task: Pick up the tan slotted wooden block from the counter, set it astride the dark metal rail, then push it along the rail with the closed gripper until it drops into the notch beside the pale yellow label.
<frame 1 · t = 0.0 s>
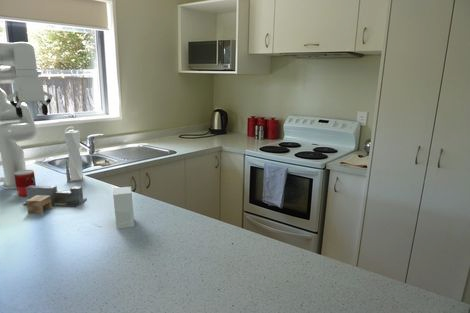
hand: (33, 116, 145), 37 cm above the counter, tool pointing down, fingers open, 9 cm apart
small box: (125, 224, 128), on the counter
tan slotted wooden block: (40, 210, 141), on the counter
canned food: (27, 194, 161), on the counter
skyscraper: (76, 179, 184), on the counter
notched rail: (56, 202, 150), on the counter
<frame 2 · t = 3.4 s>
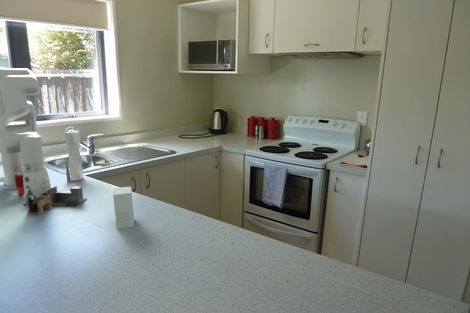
hand: (39, 208, 141), 1 cm above the counter, tool pointing down, fingers closed on tan slotted wooden block, 6 cm apart
tan slotted wooden block: (40, 210, 141), on the counter, touching gripper
everything else where it was.
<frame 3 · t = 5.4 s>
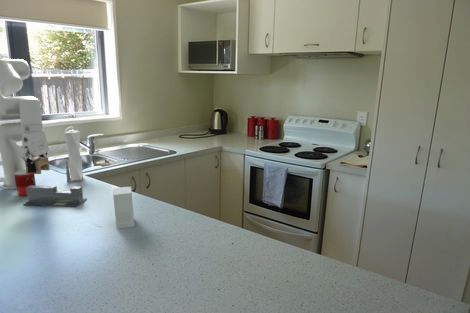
hand: (38, 169, 147), 15 cm above the counter, tool pointing down, fingers closed on tan slotted wooden block, 6 cm apart
tan slotted wooden block: (38, 171, 147), point 14 cm above the counter, touching gripper
everything else where it was.
when the fingers open (6 cm above the counter, at t = 7.4 s): tan slotted wooden block drops 1 cm, resting on notched rail.
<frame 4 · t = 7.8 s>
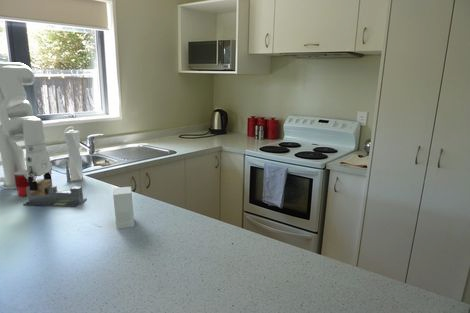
hand: (41, 186, 149), 7 cm above the counter, tool pointing down, fingers open, 9 cm apart
tan slotted wooden block: (42, 193, 150), point 4 cm above the counter, touching notched rail
everything else where it was.
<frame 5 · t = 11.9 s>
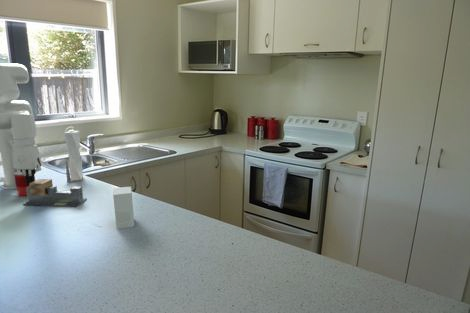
hand: (30, 183, 149), 8 cm above the counter, tool pointing down, fingers closed
tan slotted wooden block: (42, 193, 150), point 4 cm above the counter, touching gripper, notched rail
everything else where it was.
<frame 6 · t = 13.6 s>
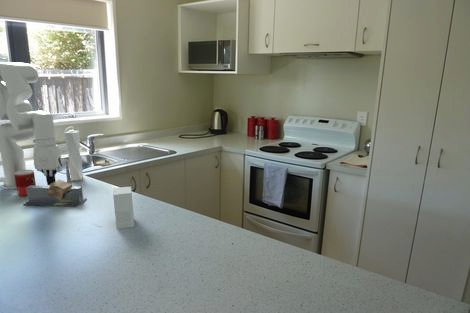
hand: (51, 184, 148), 8 cm above the counter, tool pointing down, fingers closed
tan slotted wooden block: (58, 195, 150), point 3 cm above the counter, tilted 21°, touching gripper
everything else where it was.
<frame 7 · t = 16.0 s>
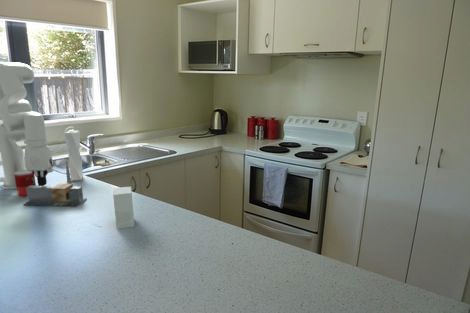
hand: (42, 185, 149), 8 cm above the counter, tool pointing down, fingers closed
tan slotted wooden block: (63, 198, 150), point 2 cm above the counter, touching notched rail
everything else where it was.
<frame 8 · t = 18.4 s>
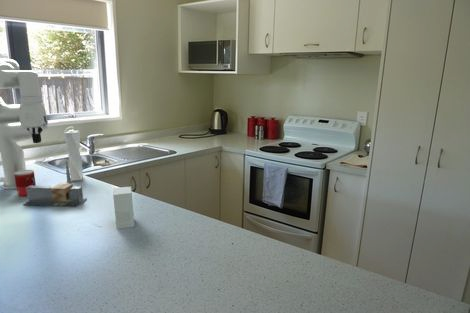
hand: (37, 142, 152), 25 cm above the counter, tool pointing down, fingers closed
nothing on the counter moved.
at the end: tan slotted wooden block 0.6 cm from the target spot on the notched rail, point 2.0 cm above the notched rail's base; tan slotted wooden block tilted 0° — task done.
